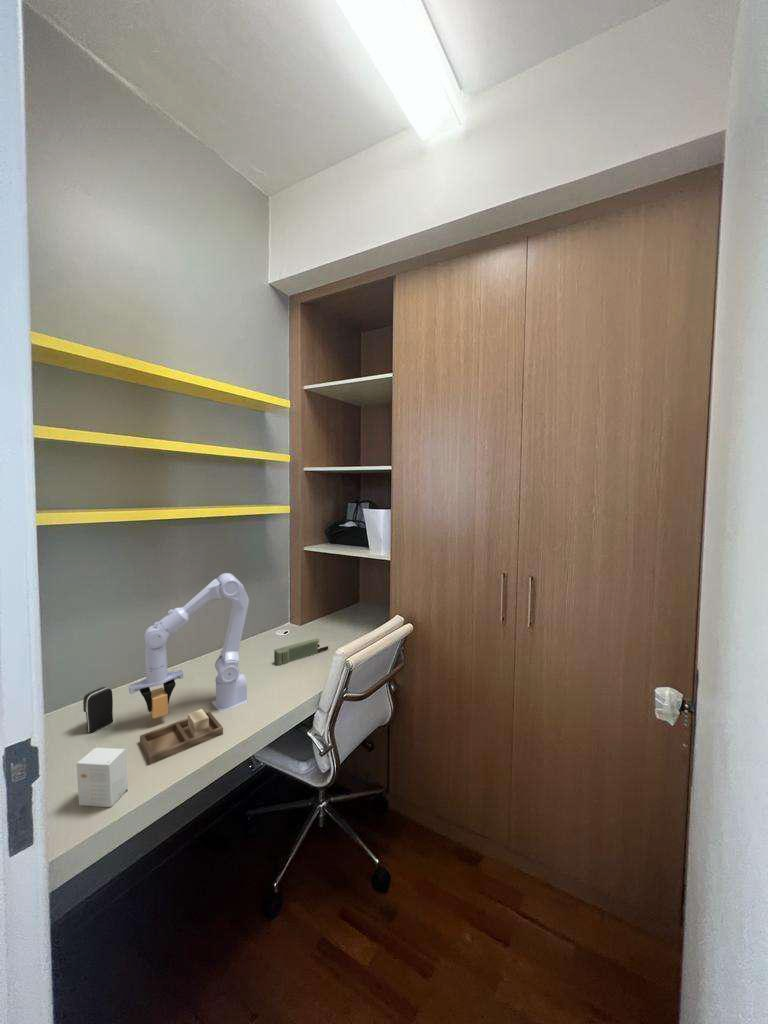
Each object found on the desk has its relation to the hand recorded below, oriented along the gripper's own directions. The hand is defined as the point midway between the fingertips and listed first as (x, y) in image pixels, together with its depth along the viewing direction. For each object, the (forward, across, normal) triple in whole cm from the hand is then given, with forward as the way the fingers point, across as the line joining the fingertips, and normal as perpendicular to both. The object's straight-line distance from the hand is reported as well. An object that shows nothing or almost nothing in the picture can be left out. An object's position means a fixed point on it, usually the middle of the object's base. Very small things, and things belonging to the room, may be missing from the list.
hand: (158, 707), depth 122 cm
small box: (+5, +17, +24) cm, 30 cm away
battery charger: (+5, +14, -10) cm, 18 cm away
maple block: (+4, -7, +14) cm, 16 cm away
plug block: (+2, 0, 0) cm, 2 cm away
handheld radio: (+6, -58, -11) cm, 59 cm away
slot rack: (+5, -3, +14) cm, 15 cm away
